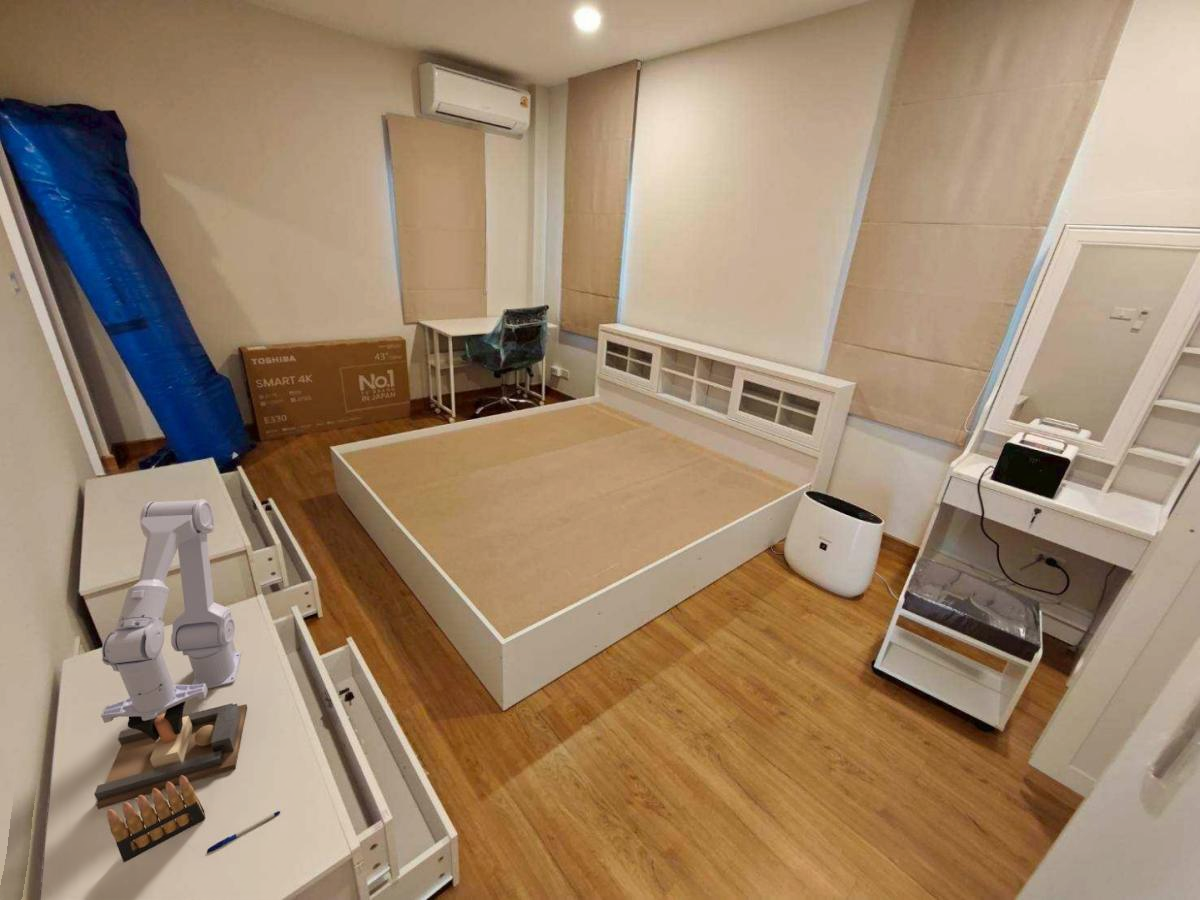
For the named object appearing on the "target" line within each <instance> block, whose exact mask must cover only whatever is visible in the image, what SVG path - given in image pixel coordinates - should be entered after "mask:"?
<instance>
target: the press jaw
mask: <svg viewBox="0 0 1200 900" xmlns="http://www.w3.org/2000/svg"><path fill="white" fill-rule="evenodd" d="M165 713H166V712H164V713H162V714H159V715H157V718H156V719H155V721H154V724H155V727H156V729H157V732H158V734H159V739H158V740H157V741H156V744H155V747H154V750H153V752H152V755H151V758H150V761H151V763H152V765H153V768H154V769H158V768H161V767H165V766H168V765H172V764H175V763H179V762H182V761H183V760H184V757H185V754H186V750H187V747H188V743H189V740H190V736H191V733H192V730H193V727H192V724H191V721H190V718H189V716H185V717H182V722H183V726H182V729H181V733H180V734H177V735H175V734H174V732H173V729H172V726H171V724H170V723H169V721H168V720H166V719H165V718H164V716H165Z"/></svg>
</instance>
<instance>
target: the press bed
mask: <svg viewBox="0 0 1200 900" xmlns="http://www.w3.org/2000/svg"><path fill="white" fill-rule="evenodd" d="M247 711H248V705H247V703H246V704H242V705H238V703H234V704H233V702H232V703H228V704H224V705H220V706H216V707H212V708H208V709H204V710H200V711H196V712H192V713H188V714H184V715H183V716H182V717H185V716H189V718H190V721H191V724H192V727H193V730H192V733H191V736H190V740H189V743H188V747H187V750H186V754H185V757H184V760H183V761H182V762H179V763H175V764H172V765H168V766H165V767H161V768H158V769H154V768H153V765H152V763H151V761H150V758H151V755H152V752H153V750H154V747H155V744H156V741H157V740H153V739H152V738H151V737H150V736H148V735H147V734H146V733H144V732H142V731H140V730H137V729H132V728H128V729H124V730H120V732H119V734H118V737H117V741H118V742H119V746H120V747H119V749H118V751H117V754H116V756H115V759H114V762H113V763H112V766H111V768H110V771H109V773H108V775H107V778H106V780H105V782H103V783H102V784H98V785H96V786H97V787H96V789H95V791H94V793H93V795H94V797H95V798H96V800H97V802H96V806H95V807H97V809H98V810H100V809H104V808H107V807H111V806H114V805H118V804H120V803H124V802H127V801H130V800H134V799H138V796H139V795H143V796H144V797H145V796H148V795H152V790H153V788H156V789H158V790H159V791H160V792H162V791H164V790H165V791H166V783H167V782H171V783H172V784H173V785H174V786H175V787H178V786H180V784H179V778H180V776H181V775H183V776H185V777H186V778H187V779H188V781H189V783H193V782H195V781H198V780H201V779H204V778H205V779H206V778H208V777H211V776H216V775H219V774H222V773H225V772H229V771H232V770H235V769H236V767H237V763H238V759H239V753H240V748H241V742H242V739H243V738H242V737H243V732H244V727H245V721H246V717H247Z"/></svg>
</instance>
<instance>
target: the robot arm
mask: <svg viewBox="0 0 1200 900" xmlns="http://www.w3.org/2000/svg"><path fill="white" fill-rule="evenodd" d="M139 519H140V523H139V524H140V528H141V530H142V534H143V535H144V537H145V538H146V541H145V547H144V552H143V558H142V562H141V568H140V574H139V579H138V582H137V583H135V584H134V585H132V586H130V587H129V588H128V589H127V592H126V595H125V598H124V602H123V605H122V608H121V611H120V614H119V617H118V622H117V625H116V627H115V629H114V630H113V631H111V632H110V633H108V634H107V636H106V637H105V639H104V640H103V643H102V647H101V655H102V656H101V657H102V658H101V660H102V662H103V664H104V665H106V666H110V667H111V669H112V670H113V672H119V675H120V677H121V680H122V682H123V684H124V686H125V690H126V691H127V694H128V696H129V697H128V698H126V699H123V700H121V701H118V702H116V703H112V704H110V705H106V706H104V708H103V710H102V713H101V715H100V717H101V719H102V721H103V723H104V724H105V723H106V724H107V723H110V722H112V721H113V720H114V719H115V718H119V717H126V718H127V717H128V721H127V726H128V729H137V730H140V731H142V732H144V733H146V734H147V735H148V736H150V737H151V738H152V739H153V740H158V739H159V734H158V732H157V729H156V727H155V724H154V721H155V719H156V718H157V717H158V716H159V715H158V714H159V713H161V712H164V711H165V712H164V713H165V716H164V718H165V719H166V720H168V721H169V723H170V724H171V726H172V729H173V732H174V734H175V735H177V734H180V733H181V729H182V726H183V722H182V716H184V715H183V714H184V708H185V704H186V701H189V700H192V699H198V700H204V699H206V697H207V694H208V689H212V688H217V687H221V686H226V685H229V684H233V683H234V682H235V681H236V676H237V672H238V668H239V666H240V665H239V663H240V660H241V655H242V651H241V650H237V651H236V648H235V644H234V639H233V638H234V636H235V629H236V627H235V626H236V625H235V621H234V619H233V617H232V612H231V608H229V607H226V606H223V605H222V604H219V603H216V602H215V600H214V599H215V598H214V591H213V589H214V588H213V581H212V579H213V578H212V573H211V564H210V563H211V561H210V552H209V551H210V550H209V542H208V541H209V540H208V534H210V533H213V532H215V521H214V520H215V517H214V510H213V505H212V504H211V503H210V502H209V501H208V500H206V499H205V498H201V499H195V500H194V499H192V500H191V499H190V500H173V501H172V500H169V501H148V502H147V503H145V505H144V506H143V508H142V509H141V511H140V517H139ZM176 553H178V560H179V569H180V570H179V571H180V579H181V588H182V597H183V605H184V610H183V611H182V612H181V613H179V614H178V615H177V616H176V617H175V618H174V619H173V621H172V623H171V624H172V629H171V630H172V632H171V635H170V637H171V638H170V644H171V647H172V649H173V650H174V651H175V652H182V655H183V656H187V657H188V660H189V663H190V666H191V669H192V673H193V675H194V678H193V681H192V684H174V683H173V680H172V677H171V675H170V672H169V670H168V667H167V664H166V660H165V658H164V655H163V653H162V649H163V645H164V643H165V621H163V616H164V613H165V610H166V606H167V602H168V599H169V595H170V589H169V587H168V586H167V585H166V584H165V582H166V579H167V576H168V573H169V570H170V568H171V565H172V563H173V560H174V558H175V555H176Z"/></svg>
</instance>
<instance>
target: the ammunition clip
mask: <svg viewBox="0 0 1200 900" xmlns="http://www.w3.org/2000/svg"><path fill="white" fill-rule="evenodd" d="M179 784H180V785H179V788H180V792H181V793H179V792H178V789H177V788H176V786H174V785H173V784H172V783H171V782H167V783H166V789H165V791H166V795H167V799H165V797H164V795H163V793H162V791H159V790H158V789H156V788H153V790H152V793H151V799H152V801H153V806H154V807H153V806H152V805H151V803H150V802H149V801H148V799H147V798H146V797H145V796H143V795H139V796H138V798H137V806H138V809H139V812H140V814H139V813H137V812H136V810H135V809H134V807H133V805H131V804H130V803H129V802H127V801H124V802H122V807H121V809H122V813H123V816H124V819H125V821H123V820H122V818H121V817H120V816H119V814H118V813H117V812H116V811H115V810H113V809H111V808H110V809H108V810H107V812H106V818H107V822H108V824H109V827H110V828H109V829H110V833H111V834H112V836H113V839H114V840H115V842H116V847H117V849H118V852H119V854H120V856H121V860H122V862H123V863H126V862H128V861H131V859H133V858H136V857H137V856H139V855H141V854H143V853H145V852H147V851H149V850H150V849H153V848H155V847H156V846H158V845H160V844H162V843H164V842H166V841H168V840H170V839H171V838H174V837H176V836H177V835H179V834H181V833H183V832H185V831H186V830H190V828H192V827H195V826H196V825H198V824H200V823H202V822H204V821H205V819H206V814H205V809H204V807H203V805H202V804H201V802H200V800H199V798H198V795H197V794H196V791H195V789H194V787H193V786H192V785H191V782H189V781H188V779H187V778H186V777H185V776H183V775H181V776H180V778H179Z"/></svg>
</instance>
